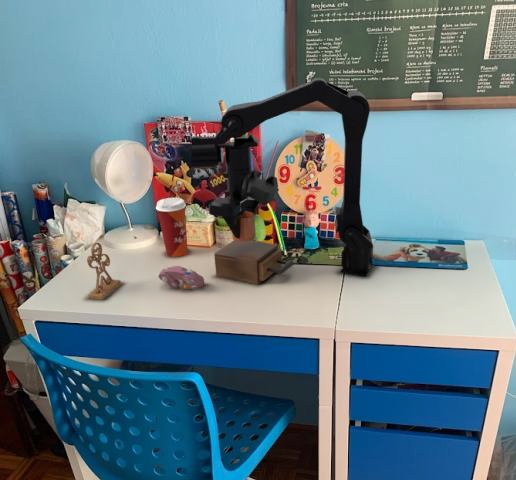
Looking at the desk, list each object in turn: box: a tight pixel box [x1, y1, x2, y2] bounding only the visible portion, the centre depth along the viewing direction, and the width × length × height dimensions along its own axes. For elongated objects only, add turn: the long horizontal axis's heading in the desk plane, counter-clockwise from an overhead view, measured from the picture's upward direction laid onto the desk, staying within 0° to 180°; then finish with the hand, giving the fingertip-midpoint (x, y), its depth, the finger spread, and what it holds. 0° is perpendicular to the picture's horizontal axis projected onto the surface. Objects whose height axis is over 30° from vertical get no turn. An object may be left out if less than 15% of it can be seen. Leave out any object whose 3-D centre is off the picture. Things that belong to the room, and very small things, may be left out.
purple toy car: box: [158, 265, 205, 290], centre depth 137 cm, size 10×5×7 cm, turn 70°
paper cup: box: [155, 197, 188, 258], centre depth 153 cm, size 8×8×14 cm
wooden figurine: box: [86, 242, 122, 301], centre depth 136 cm, size 9×4×12 cm, turn 163°
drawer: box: [258, 248, 295, 282], centre depth 141 cm, size 15×9×4 cm, turn 61°
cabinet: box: [213, 240, 279, 285], centre depth 142 cm, size 12×11×6 cm
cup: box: [231, 211, 256, 242], centre depth 138 cm, size 6×6×6 cm
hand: (243, 233), depth 139 cm, fingers closed on cup, 5 cm apart
